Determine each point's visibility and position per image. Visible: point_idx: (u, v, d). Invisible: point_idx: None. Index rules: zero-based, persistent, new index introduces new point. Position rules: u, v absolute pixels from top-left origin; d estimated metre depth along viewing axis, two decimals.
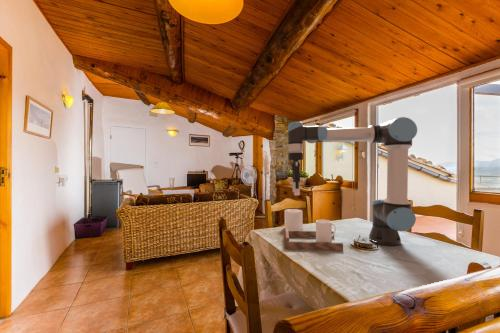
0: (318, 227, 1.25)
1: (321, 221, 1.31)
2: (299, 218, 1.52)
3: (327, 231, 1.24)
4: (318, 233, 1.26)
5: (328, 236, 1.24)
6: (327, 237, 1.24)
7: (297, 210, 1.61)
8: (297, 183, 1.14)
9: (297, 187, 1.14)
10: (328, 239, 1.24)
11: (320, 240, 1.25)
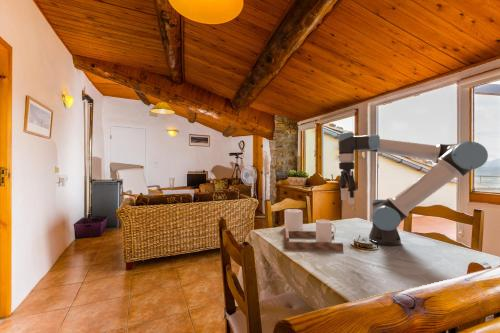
0: (318, 227, 1.25)
1: (321, 221, 1.31)
2: (299, 218, 1.52)
3: (327, 231, 1.24)
4: (318, 233, 1.26)
5: (328, 236, 1.24)
6: (327, 237, 1.24)
7: (297, 210, 1.61)
8: (352, 192, 1.18)
9: (352, 196, 1.18)
10: (328, 239, 1.24)
11: (320, 240, 1.25)
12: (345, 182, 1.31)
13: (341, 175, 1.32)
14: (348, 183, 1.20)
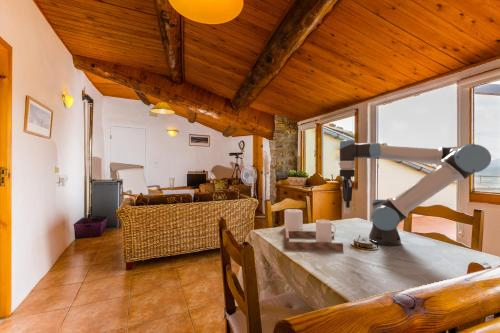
0: (318, 227, 1.25)
1: (321, 221, 1.31)
2: (299, 218, 1.52)
3: (327, 231, 1.24)
4: (318, 233, 1.26)
5: (328, 236, 1.24)
6: (327, 237, 1.24)
7: (297, 210, 1.61)
8: (348, 202, 1.25)
9: (348, 206, 1.25)
10: (328, 239, 1.24)
11: (320, 240, 1.25)
12: None
13: (342, 185, 1.31)
14: (346, 193, 1.25)
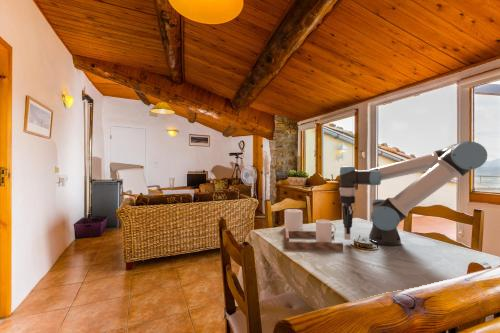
0: (318, 227, 1.25)
1: (321, 221, 1.31)
2: (299, 218, 1.52)
3: (327, 231, 1.24)
4: (318, 233, 1.26)
5: (328, 236, 1.24)
6: (327, 237, 1.24)
7: (297, 210, 1.61)
8: (348, 229, 1.25)
9: (348, 232, 1.25)
10: (328, 239, 1.24)
11: (320, 240, 1.25)
12: None
13: (342, 210, 1.31)
14: (346, 220, 1.25)
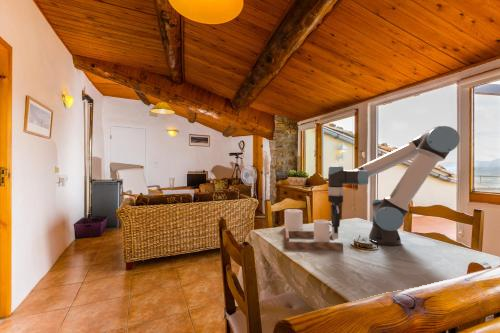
0: (316, 227, 1.25)
1: (319, 221, 1.31)
2: (299, 218, 1.52)
3: (325, 231, 1.24)
4: (316, 233, 1.25)
5: (326, 236, 1.24)
6: (325, 237, 1.24)
7: (297, 210, 1.61)
8: (336, 228, 1.26)
9: (336, 232, 1.26)
10: (326, 239, 1.24)
11: (318, 240, 1.25)
12: None
13: None
14: (334, 219, 1.26)
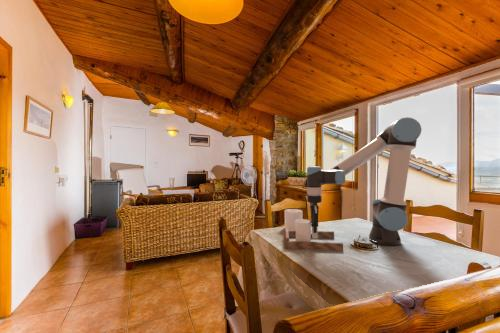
0: (299, 227, 1.26)
1: (299, 221, 1.32)
2: (299, 218, 1.52)
3: (307, 231, 1.25)
4: (299, 233, 1.26)
5: (308, 235, 1.26)
6: (307, 236, 1.25)
7: (297, 210, 1.61)
8: (315, 228, 1.27)
9: (315, 231, 1.27)
10: (308, 238, 1.26)
11: (301, 240, 1.25)
12: None
13: None
14: None
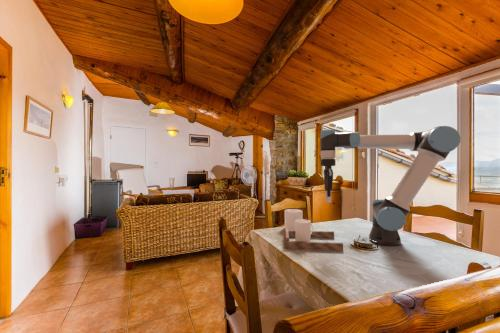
0: (298, 227, 1.26)
1: (299, 221, 1.32)
2: (299, 218, 1.52)
3: (307, 231, 1.25)
4: (298, 233, 1.26)
5: (308, 235, 1.26)
6: (307, 236, 1.25)
7: (297, 210, 1.61)
8: (329, 191, 1.26)
9: (329, 195, 1.26)
10: (308, 238, 1.26)
11: (301, 240, 1.25)
12: None
13: None
14: None
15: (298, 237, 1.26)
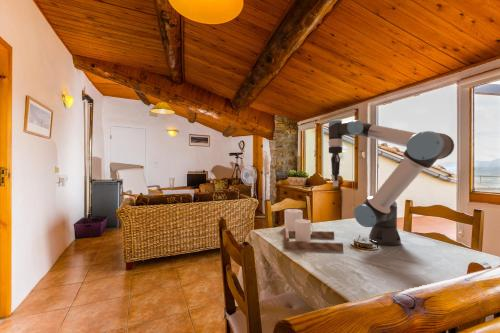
0: (298, 227, 1.26)
1: (299, 221, 1.32)
2: (299, 218, 1.52)
3: (307, 231, 1.25)
4: (298, 233, 1.26)
5: (308, 235, 1.26)
6: (307, 236, 1.25)
7: (297, 210, 1.61)
8: (336, 176, 1.39)
9: (336, 179, 1.39)
10: (308, 238, 1.26)
11: (301, 240, 1.25)
12: None
13: (331, 161, 1.45)
14: (334, 168, 1.39)
15: (298, 237, 1.26)
